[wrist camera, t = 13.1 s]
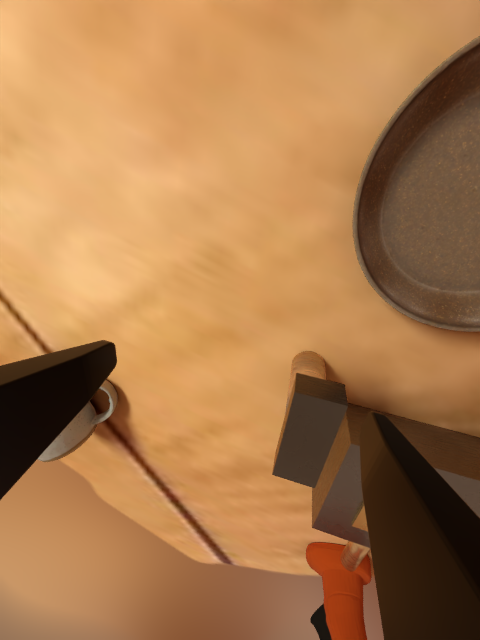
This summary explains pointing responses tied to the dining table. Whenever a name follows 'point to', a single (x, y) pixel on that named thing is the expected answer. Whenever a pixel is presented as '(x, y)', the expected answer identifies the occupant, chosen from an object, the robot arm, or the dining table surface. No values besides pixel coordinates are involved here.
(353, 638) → the toy drill
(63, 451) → the ceramic mug
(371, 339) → the dining table surface
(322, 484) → the block
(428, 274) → the saucer
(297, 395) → the block
